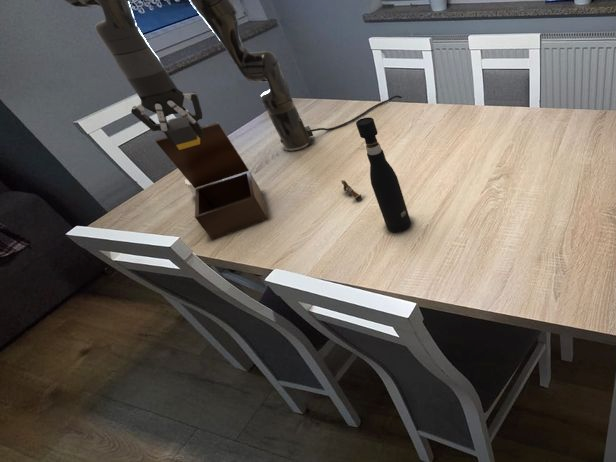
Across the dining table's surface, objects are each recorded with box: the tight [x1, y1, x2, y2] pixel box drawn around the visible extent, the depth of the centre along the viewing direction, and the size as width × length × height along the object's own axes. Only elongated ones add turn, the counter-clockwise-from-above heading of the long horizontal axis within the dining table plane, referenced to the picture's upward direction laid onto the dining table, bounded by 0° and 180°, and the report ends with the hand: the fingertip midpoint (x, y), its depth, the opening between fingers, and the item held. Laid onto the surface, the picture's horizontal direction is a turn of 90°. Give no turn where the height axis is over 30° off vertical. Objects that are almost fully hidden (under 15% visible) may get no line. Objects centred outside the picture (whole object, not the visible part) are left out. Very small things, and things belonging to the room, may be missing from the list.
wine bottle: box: [355, 116, 412, 234], centre depth 97 cm, size 6×6×30 cm
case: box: [194, 170, 269, 240], centre depth 116 cm, size 17×15×8 cm
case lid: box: [154, 122, 250, 188], centre depth 112 cm, size 18×15×5 cm
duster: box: [167, 116, 200, 150], centre depth 99 cm, size 5×8×5 cm, turn 31°
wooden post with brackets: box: [340, 179, 363, 202], centre depth 119 cm, size 2×8×4 cm, turn 49°
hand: (189, 139), depth 101 cm, fingers closed on duster, 4 cm apart
